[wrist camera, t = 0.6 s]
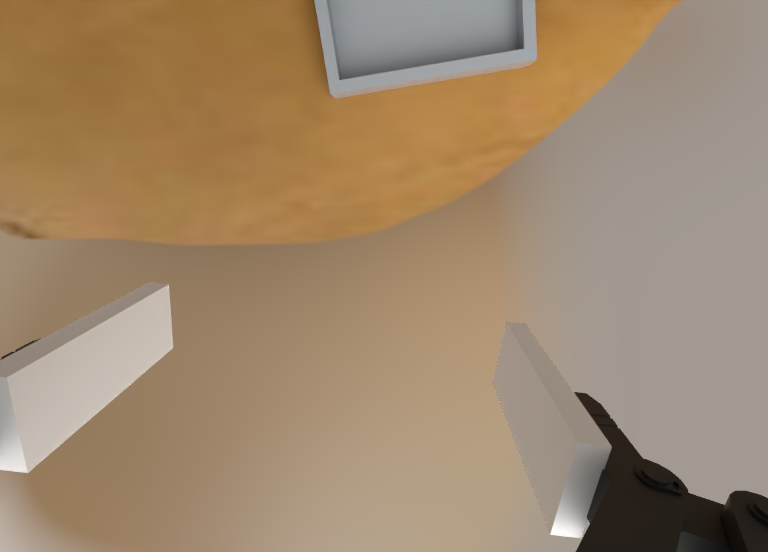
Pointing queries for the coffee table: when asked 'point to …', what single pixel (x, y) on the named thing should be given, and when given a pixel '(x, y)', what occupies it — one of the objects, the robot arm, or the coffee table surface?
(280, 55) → the coffee table surface
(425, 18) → the tray
